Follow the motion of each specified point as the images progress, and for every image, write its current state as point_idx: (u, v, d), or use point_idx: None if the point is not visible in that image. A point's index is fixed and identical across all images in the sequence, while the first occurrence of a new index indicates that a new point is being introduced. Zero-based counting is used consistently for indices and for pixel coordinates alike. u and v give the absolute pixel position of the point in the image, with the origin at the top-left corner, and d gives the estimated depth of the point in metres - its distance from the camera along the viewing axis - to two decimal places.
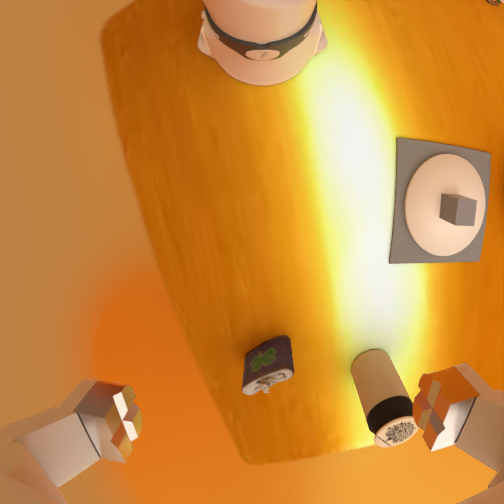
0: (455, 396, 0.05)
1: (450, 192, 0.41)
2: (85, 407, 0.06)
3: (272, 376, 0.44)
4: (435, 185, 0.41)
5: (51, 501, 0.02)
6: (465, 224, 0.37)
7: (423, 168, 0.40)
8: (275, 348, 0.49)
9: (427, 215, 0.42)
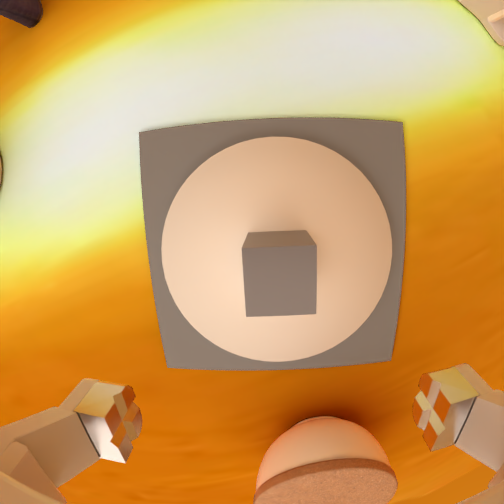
0: (455, 396, 0.05)
1: None
2: (85, 407, 0.06)
3: None
4: (322, 210, 0.21)
5: (51, 501, 0.02)
6: (247, 285, 0.17)
7: (355, 174, 0.20)
8: None
9: (249, 197, 0.21)
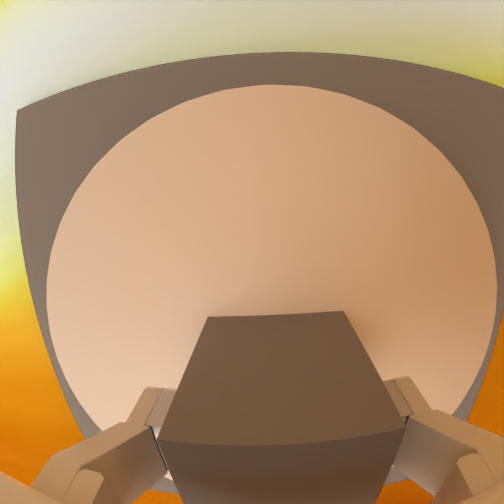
0: None
1: None
2: (159, 419, 0.06)
3: None
4: (382, 265, 0.08)
5: (51, 501, 0.02)
6: (192, 501, 0.04)
7: (452, 182, 0.08)
8: None
9: (207, 235, 0.08)
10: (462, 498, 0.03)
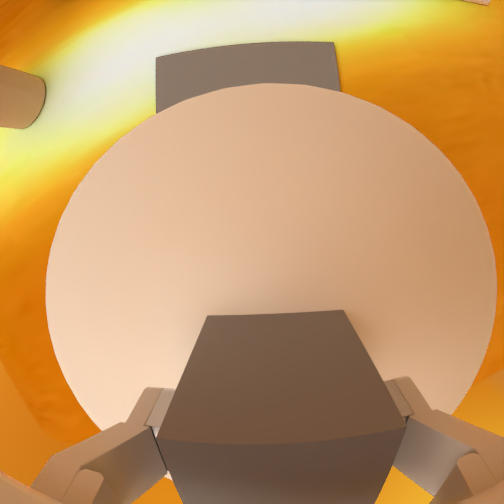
0: None
1: None
2: (159, 419, 0.06)
3: None
4: (382, 264, 0.08)
5: (51, 501, 0.02)
6: (192, 501, 0.04)
7: (452, 181, 0.08)
8: None
9: (207, 233, 0.08)
10: (462, 498, 0.03)
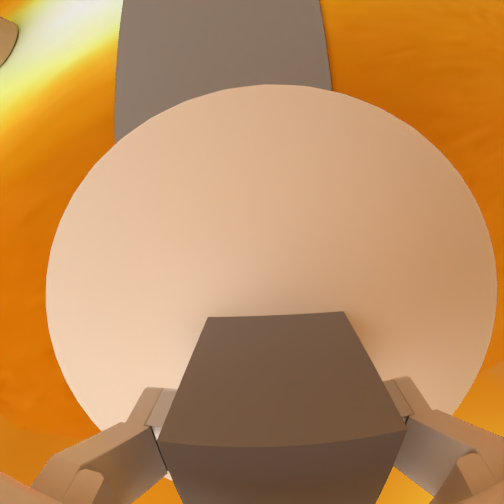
0: None
1: None
2: (159, 419, 0.06)
3: None
4: (383, 266, 0.08)
5: (51, 501, 0.02)
6: (192, 502, 0.04)
7: (452, 182, 0.08)
8: None
9: (207, 235, 0.08)
10: (462, 498, 0.03)
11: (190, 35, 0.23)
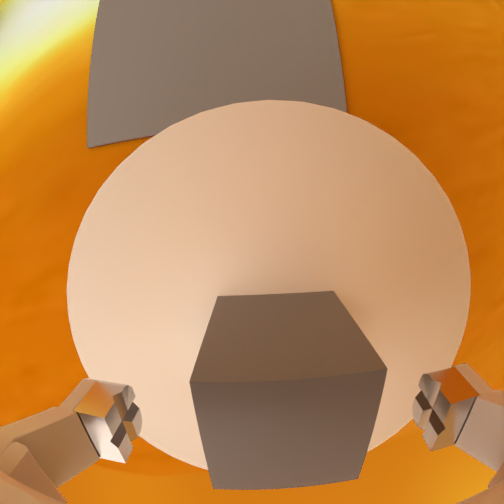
0: (455, 396, 0.05)
1: None
2: (85, 407, 0.06)
3: None
4: (366, 252, 0.10)
5: (51, 501, 0.02)
6: (212, 448, 0.06)
7: (426, 182, 0.10)
8: None
9: (219, 225, 0.10)
10: None
11: (175, 13, 0.18)
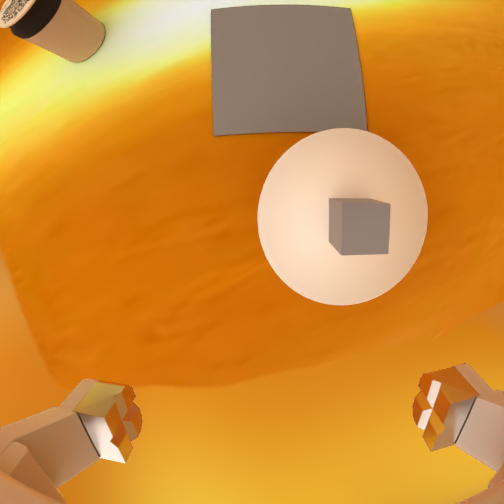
0: (455, 396, 0.05)
1: None
2: (86, 407, 0.06)
3: None
4: (381, 184, 0.26)
5: (51, 501, 0.02)
6: (344, 230, 0.23)
7: (404, 160, 0.26)
8: None
9: (331, 171, 0.26)
10: None
11: (268, 57, 0.34)
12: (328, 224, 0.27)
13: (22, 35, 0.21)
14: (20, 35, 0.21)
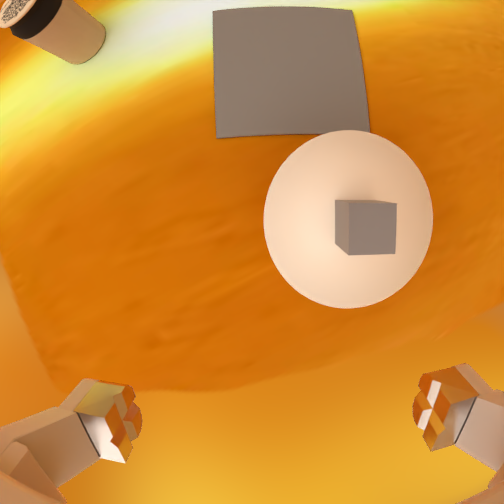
0: (455, 396, 0.05)
1: None
2: (86, 407, 0.06)
3: None
4: (386, 186, 0.26)
5: (51, 501, 0.02)
6: (351, 230, 0.22)
7: (408, 161, 0.26)
8: None
9: (336, 173, 0.26)
10: None
11: (271, 59, 0.34)
12: (334, 226, 0.27)
13: (22, 35, 0.21)
14: (20, 35, 0.21)
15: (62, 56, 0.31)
